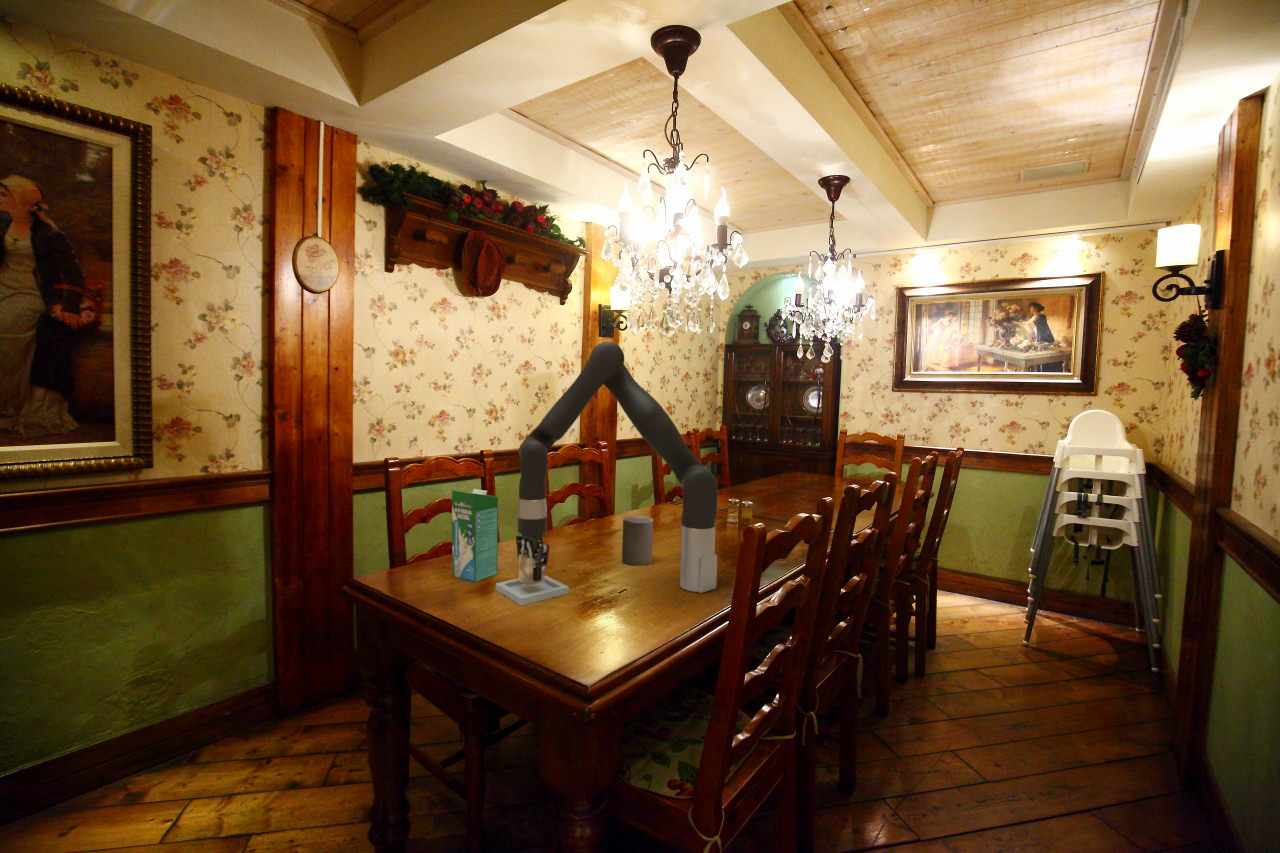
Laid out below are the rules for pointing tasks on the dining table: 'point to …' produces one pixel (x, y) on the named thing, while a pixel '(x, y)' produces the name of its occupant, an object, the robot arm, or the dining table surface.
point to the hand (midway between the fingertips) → (531, 577)
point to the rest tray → (531, 590)
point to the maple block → (528, 570)
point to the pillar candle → (637, 540)
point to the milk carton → (474, 535)
